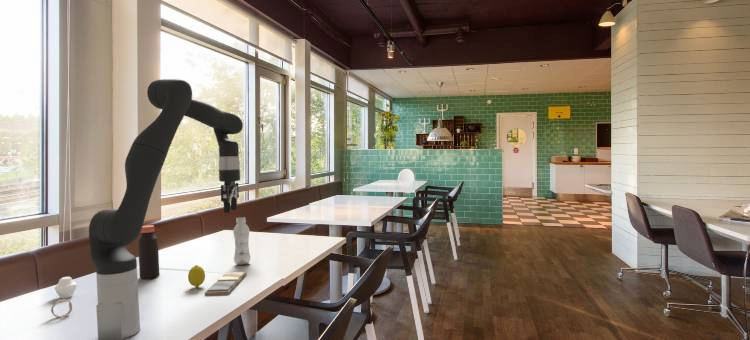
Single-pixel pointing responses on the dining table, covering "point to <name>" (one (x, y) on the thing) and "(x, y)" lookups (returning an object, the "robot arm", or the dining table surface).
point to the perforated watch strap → (66, 313)
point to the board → (226, 283)
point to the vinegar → (148, 253)
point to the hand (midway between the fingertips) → (230, 211)
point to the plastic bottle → (241, 242)
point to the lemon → (196, 276)
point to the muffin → (65, 287)
